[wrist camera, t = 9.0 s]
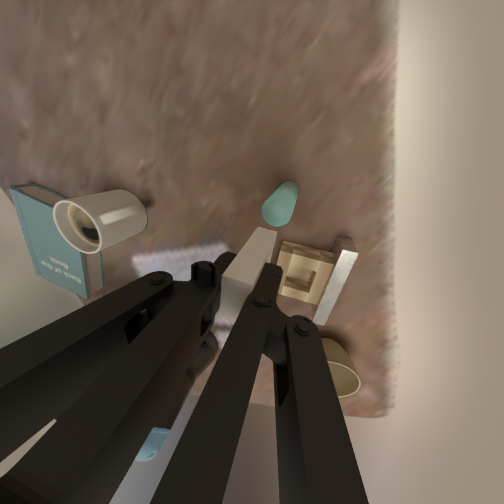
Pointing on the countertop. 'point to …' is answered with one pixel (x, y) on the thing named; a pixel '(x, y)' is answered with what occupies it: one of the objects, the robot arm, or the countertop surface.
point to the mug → (99, 219)
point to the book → (54, 243)
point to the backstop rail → (335, 278)
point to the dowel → (280, 204)
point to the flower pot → (341, 368)
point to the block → (304, 271)
